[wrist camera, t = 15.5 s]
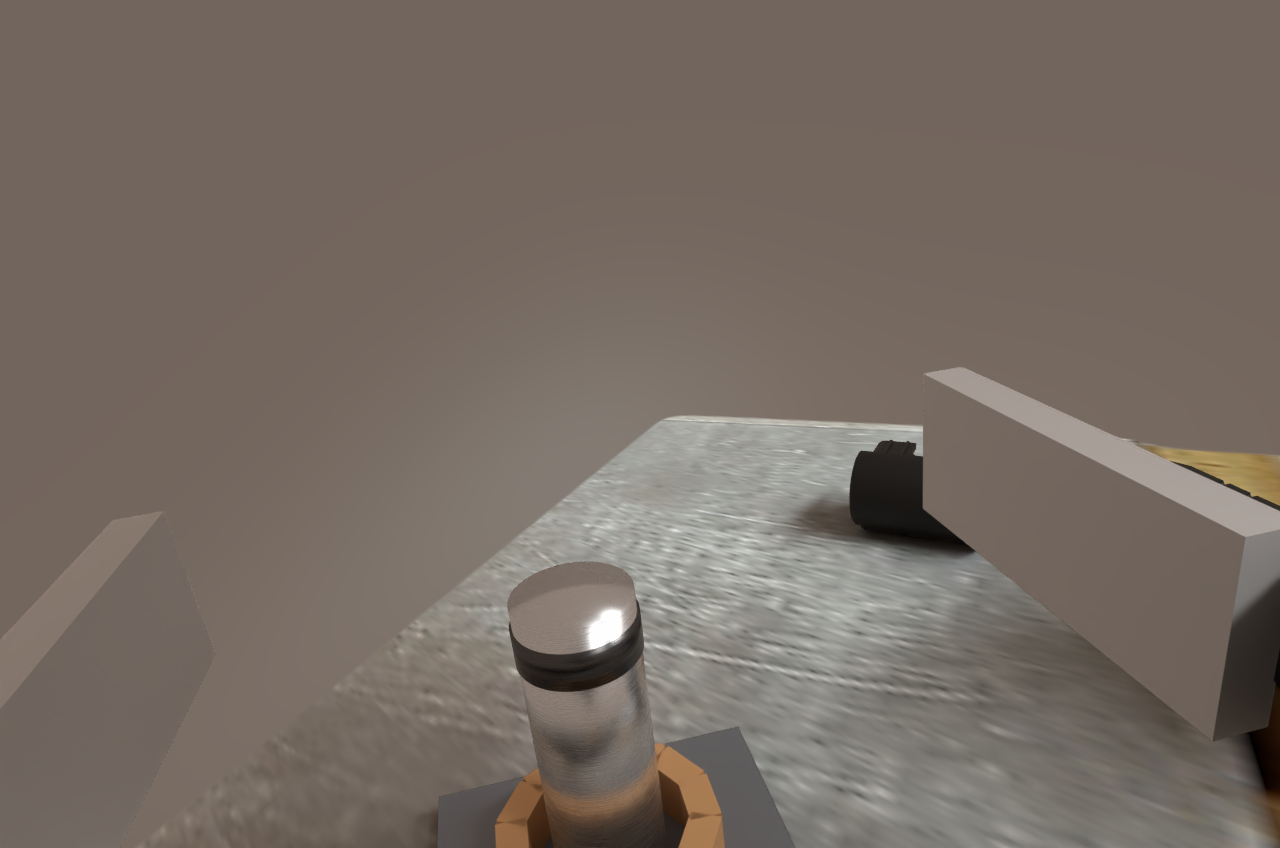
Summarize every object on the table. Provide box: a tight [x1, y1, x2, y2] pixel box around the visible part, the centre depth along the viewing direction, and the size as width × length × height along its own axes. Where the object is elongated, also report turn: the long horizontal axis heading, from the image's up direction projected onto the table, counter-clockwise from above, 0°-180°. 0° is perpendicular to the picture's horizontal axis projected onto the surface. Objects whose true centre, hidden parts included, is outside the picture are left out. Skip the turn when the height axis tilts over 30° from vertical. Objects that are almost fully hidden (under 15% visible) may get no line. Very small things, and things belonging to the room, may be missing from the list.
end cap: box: [849, 440, 966, 544], centre depth 63 cm, size 10×7×7 cm
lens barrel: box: [507, 562, 668, 848], centre depth 34 cm, size 5×5×14 cm
